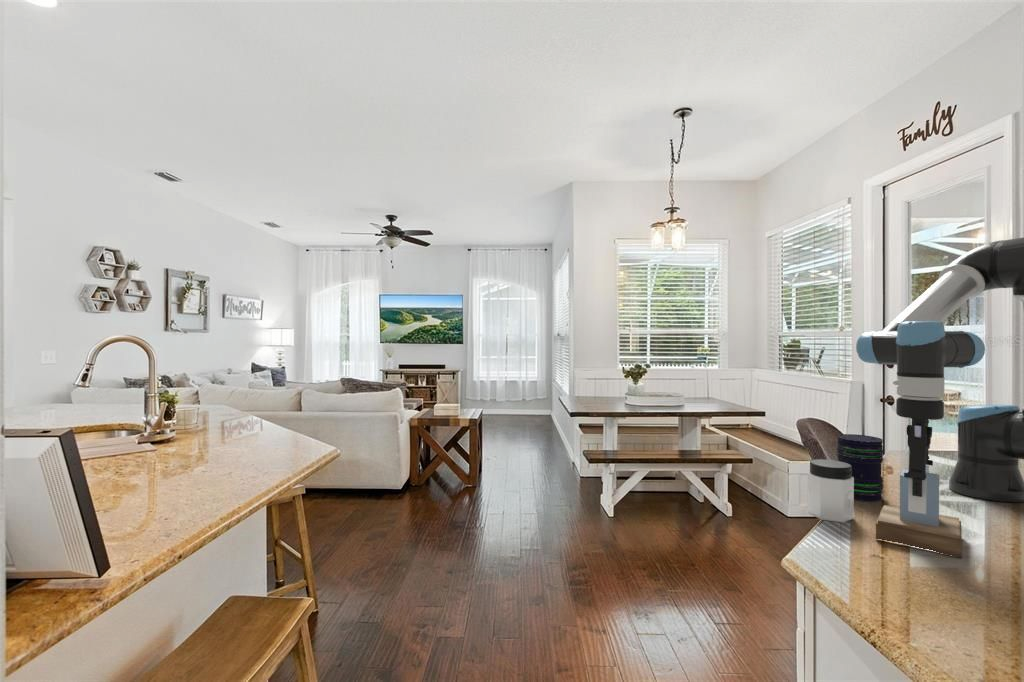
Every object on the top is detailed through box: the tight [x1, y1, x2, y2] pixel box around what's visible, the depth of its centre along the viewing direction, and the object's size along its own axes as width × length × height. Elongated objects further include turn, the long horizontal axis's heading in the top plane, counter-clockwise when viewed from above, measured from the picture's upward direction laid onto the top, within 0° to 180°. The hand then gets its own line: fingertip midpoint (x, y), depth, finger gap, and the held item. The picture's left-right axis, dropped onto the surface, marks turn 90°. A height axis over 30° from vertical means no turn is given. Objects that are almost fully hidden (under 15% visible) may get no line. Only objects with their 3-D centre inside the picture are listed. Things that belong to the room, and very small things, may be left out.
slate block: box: [899, 469, 940, 527], centre depth 104 cm, size 6×6×9 cm
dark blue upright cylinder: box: [836, 433, 884, 503], centre depth 132 cm, size 10×10×15 cm
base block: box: [875, 504, 963, 558], centre depth 104 cm, size 13×13×4 cm
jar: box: [807, 458, 855, 524], centre depth 118 cm, size 9×8×12 cm
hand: (918, 503), depth 104 cm, fingers open, 13 cm apart
